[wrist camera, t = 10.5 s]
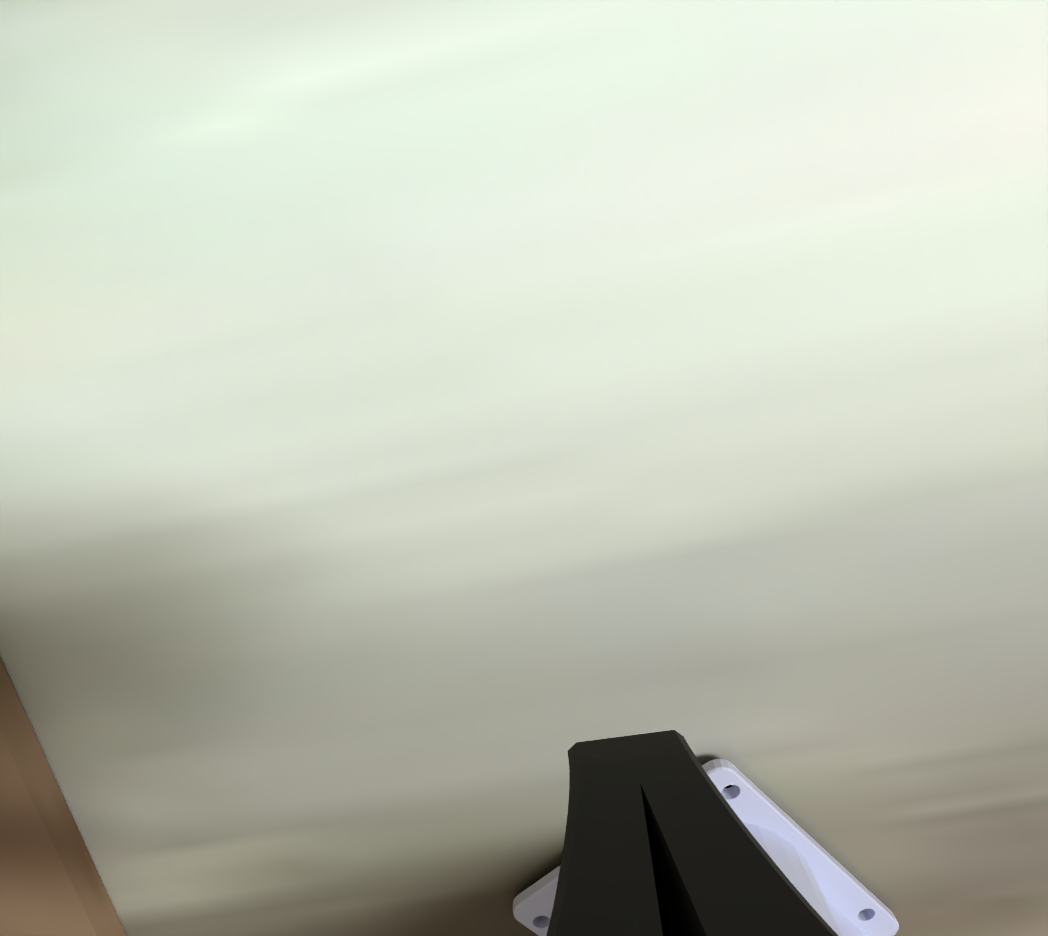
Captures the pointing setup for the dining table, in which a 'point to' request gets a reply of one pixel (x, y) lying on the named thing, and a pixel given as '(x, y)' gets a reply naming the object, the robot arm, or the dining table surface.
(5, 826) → the frame board
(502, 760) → the dining table surface
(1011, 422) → the dining table surface
